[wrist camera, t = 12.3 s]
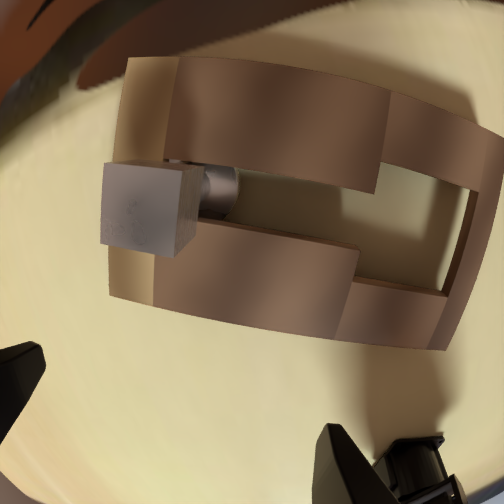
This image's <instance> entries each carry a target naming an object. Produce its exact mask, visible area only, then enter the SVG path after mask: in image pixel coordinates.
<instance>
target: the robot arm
mask: <svg viewBox="0 0 504 504" xmlns="http://www.w3.org/2000/svg"><path fill="white" fill-rule="evenodd" d="M45 369H46V362H45V358H44V354H43V350H42V347H41V345H39V344H37V343H35V342H33V341H28V342H25V343H21V344H18V345H14V346H11V347H7V348H4V349H0V445H1V443H2V441H3V440H4V438H5V436H6V435H7V433H8V432H9V430H10V429H11V427H12V425H13V424H14V422H15V421H16V419H17V418H18V416H19V415H20V413H21V412H22V410H23V409H24V407H25V406H26V404H27V402H28V401H29V399H30V397H31V395H32V393H33V391H34V390H35V388H36V386H37V384H38V382H39V380H40V379H41V377H42V375H43V373H44V372H45ZM444 441H445V439H444V437H443V436H439V437H429V438H416V439H399V440H396V441H394V442H393V444H392V445H391V446H390V448H389V449H388V450H387V452H386V453H385V454H384V456H383V457H382V458H381V459H380V461H379V462H378V463H377V465H376V466H375V467H374V468H373V467H372V466H371V464H370V463H369V462H368V460H367V459H366V458H365V456H364V455H363V454H362V452H361V451H360V450H359V448H358V447H357V446H356V444H355V443H354V442H353V440H352V439H351V438H350V436H349V435H348V433H347V432H346V431H345V429H344V428H343V427H342V425H340V424H333V423H327V424H326V425H325V426H324V428H323V430H322V432H321V434H320V436H319V438H318V440H317V443H316V450H315V462H314V473H313V483H312V504H468V501H467V498H466V495H465V493H464V490H463V487H462V485H461V483H460V482H459V480H458V479H457V477H456V476H455V474H452V475H450V476H449V477H448V475H447V472H446V470H445V467H444V464H443V462H442V459H441V456H440V454H439V451H438V448H439V447H440V446H441V445H442V443H443V442H444ZM453 494H454V496H453V497H451V495H453Z"/></svg>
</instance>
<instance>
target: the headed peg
mask: <svg viewBox="0 0 504 504" xmlns="http://www.w3.org/2000/svg"><path fill="white" fill-rule="evenodd" d="M239 192H240V176H239V172H238V169H237V168H235V167H228V166H221V165H214V164H207V163H199V162H191V161H182V160H173V159H169V162H161V161H152V160H142V159H137V160H126V161H116V162H107V163H104V170H103V183H102V201H101V240H100V244H105V245H110V246H115V247H120V248H125V249H129V250H134V251H139V252H144V253H149V254H154V255H159V256H164V257H169V258H174V257H175V256H176V255H177V254H178V253H179V252H180V251H181V250H182V249H183V248H184V247H185V246H186V245H187V244H188V243H189V242H190V241H191V240H192V239H193V238H194V237H195V236H196V229H197V220H198V217H201V218H207V219H213V220H219V221H221V220H222V219H223V218H224V217H225V216H226V215H227V214H228V213H229V212H230V211H231V209H232V208H233V207H234V205H235V203H236V201H237V199H238V196H239Z"/></svg>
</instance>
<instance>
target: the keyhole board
mask: <svg viewBox="0 0 504 504" xmlns="http://www.w3.org/2000/svg"><path fill="white" fill-rule="evenodd" d="M137 159H142V160H152V161H161V162H169V159H173V160H182V161H191V162H199V163H207V164H214V165H221V166H228V167H235V168H242V169H248V170H254V171H260V172H266V173H272V174H278V175H284V176H289V177H294V178H300V179H305V180H310V181H315V182H320V183H325V184H330V185H334V186H339V187H344V188H348V189H353V190H357V191H361V192H366V193H370V194H374V192H375V188H376V183H377V178H378V173H379V167H380V162H384V163H388V164H392V165H395V166H399V167H402V168H406V169H409V170H412V171H416V172H419V173H422V174H425V175H428V176H432V177H435V178H438V179H441V180H444V181H447V182H450V183H452V184H455V185H458V186H461V187H464V188H467V189H469V190H470V192H469V197H468V202H467V206H466V210H465V214H464V218H463V222H462V226H461V230H460V234H459V237H458V241H457V244H456V248H455V251H454V254H453V258H452V261H451V264H450V267H449V270H448V273H447V276H446V279H445V282H444V285H443V287H442V290H441V291H439V290H433V289H427V288H422V287H416V286H410V285H404V284H398V283H392V282H387V281H381V280H375V279H369V278H364V277H358V276H354V273H355V270H356V266H357V263H358V259H359V255H360V250H359V248H358V247H357V246H356V245H351V244H346V243H341V242H336V241H331V240H325V239H320V238H315V237H309V236H304V235H299V234H293V233H288V232H282V231H277V230H271V229H265V228H260V227H254V226H248V225H243V224H237V223H231V222H225V221H219V220H213V219H207V218H201V217H198V220H197V229H196V236H195V237H194V238H193V239H192V240H191V241H190V242H189V243H188V244H187V245H186V246H185V247H184V248H183V249H182V250H181V251H180V252H179V253H178V254H177V255H176V256H175V257H174V258H169V257H164V256H159V255H154V254H149V253H144V252H139V251H134V250H129V249H125V248H120V247H115V246H110V245H108V259H109V294H110V296H114V297H117V298H121V299H125V300H129V301H133V302H137V303H141V304H145V305H149V306H153V307H157V308H162V309H166V310H170V311H175V312H179V313H184V314H188V315H193V316H197V317H202V318H207V319H212V320H217V321H222V322H227V323H232V324H237V325H243V326H248V327H254V328H259V329H265V330H271V331H277V332H283V333H289V334H296V335H302V336H309V337H316V338H323V339H330V340H338V341H346V342H354V343H363V344H372V345H381V346H391V347H402V348H414V349H427V350H442V351H446V349H447V347H448V345H449V343H450V341H451V339H452V337H453V335H454V333H455V330H456V328H457V326H458V324H459V321H460V319H461V317H462V314H463V312H464V310H465V307H466V305H467V302H468V300H469V297H470V295H471V292H472V289H473V287H474V284H475V281H476V278H477V275H478V272H479V270H480V267H481V263H482V260H483V257H484V254H485V251H486V247H487V244H488V241H489V237H490V233H491V230H492V226H493V222H494V218H495V214H496V209H497V205H498V200H499V196H500V191H501V185H502V180H503V174H504V138H503V137H501V136H499V135H497V134H495V133H493V132H491V131H489V130H487V129H485V128H483V127H481V126H479V125H477V124H475V123H473V122H471V121H469V120H467V119H464V118H462V117H460V116H458V115H455V114H453V113H451V112H448V111H446V110H443V109H441V108H438V107H436V106H433V105H431V104H428V103H426V102H423V101H420V100H417V99H415V98H412V97H409V96H406V95H403V94H400V93H397V92H394V91H391V90H388V89H384V88H381V87H378V86H374V85H371V84H367V83H364V82H360V81H356V80H352V79H348V78H344V77H340V76H336V75H332V74H327V73H322V72H318V71H313V70H307V69H302V68H296V67H291V66H284V65H278V64H271V63H263V62H255V61H246V60H236V59H224V58H208V57H135V58H129V59H128V64H127V68H126V73H125V78H124V84H123V89H122V95H121V101H120V107H119V113H118V120H117V127H116V135H115V143H114V153H113V162H116V161H126V160H137Z"/></svg>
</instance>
